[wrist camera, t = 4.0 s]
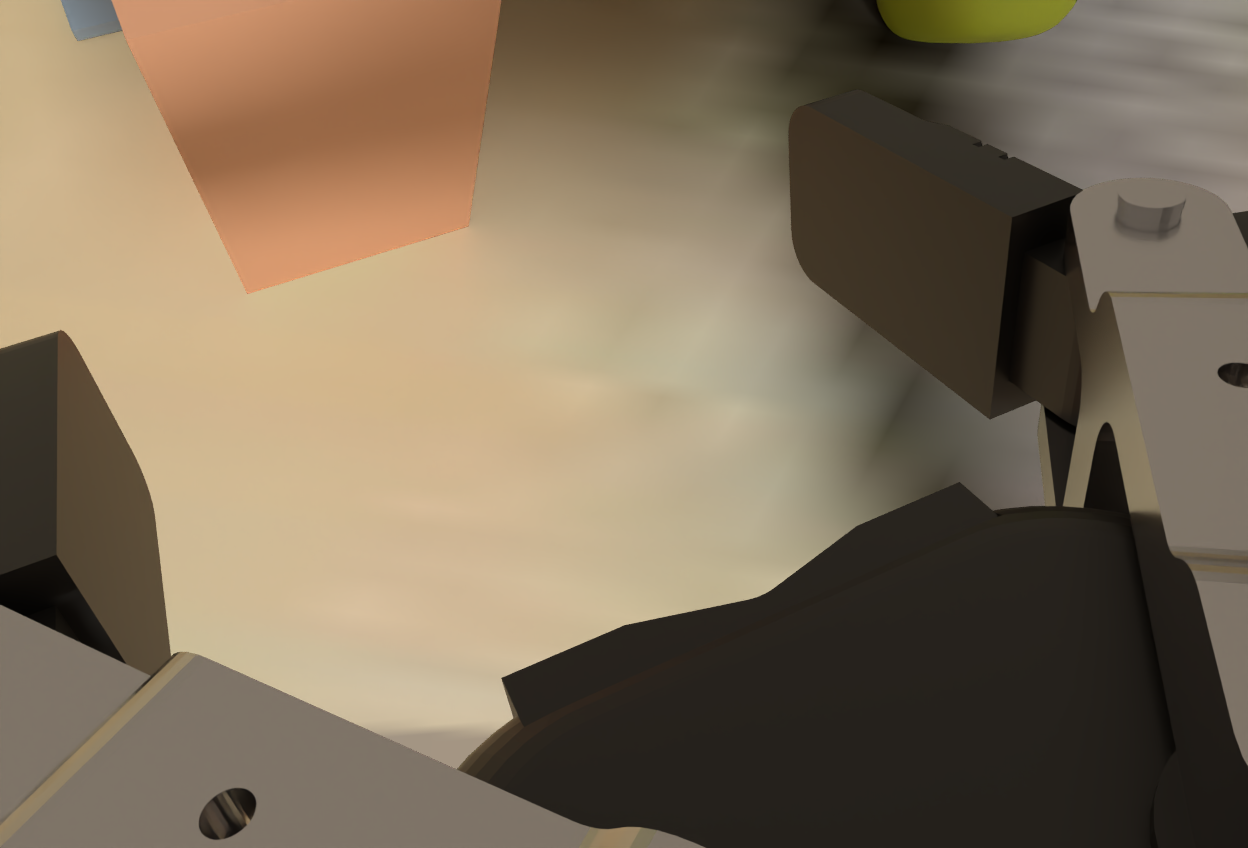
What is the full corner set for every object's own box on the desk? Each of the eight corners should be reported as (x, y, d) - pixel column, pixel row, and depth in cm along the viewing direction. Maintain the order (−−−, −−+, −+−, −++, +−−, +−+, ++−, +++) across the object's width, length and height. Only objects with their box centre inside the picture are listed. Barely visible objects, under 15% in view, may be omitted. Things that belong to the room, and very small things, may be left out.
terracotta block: (391, 30, 24) (379, -366, 15) (468, 226, 24) (509, -51, 14) (171, 86, 23) (-1, -307, 13) (247, 293, 22) (125, 39, 13)
